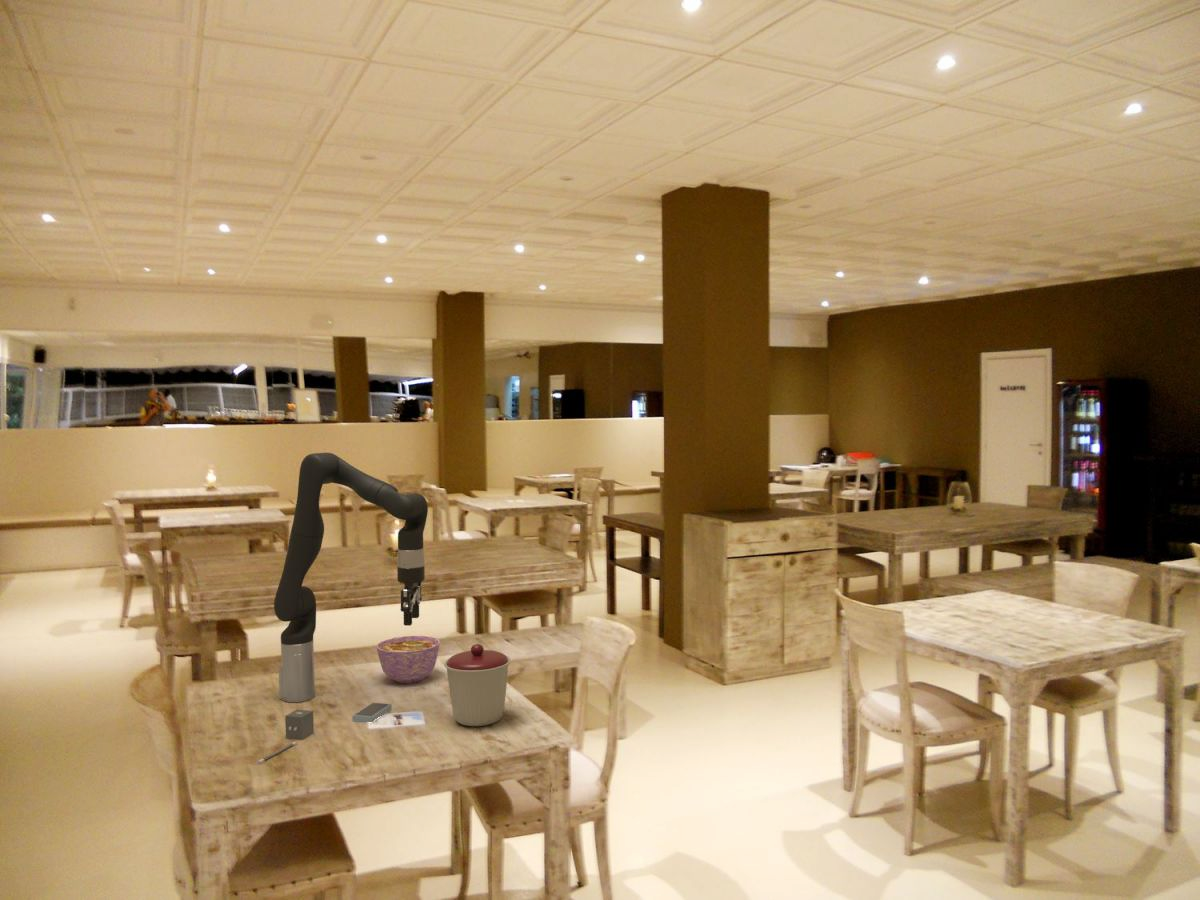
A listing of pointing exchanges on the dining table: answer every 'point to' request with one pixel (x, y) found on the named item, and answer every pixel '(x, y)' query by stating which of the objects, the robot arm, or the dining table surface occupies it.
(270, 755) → the cable
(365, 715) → the phone
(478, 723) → the canister
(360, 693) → the dining table surface
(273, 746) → the dining table surface
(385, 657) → the bowl of food
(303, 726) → the charger
